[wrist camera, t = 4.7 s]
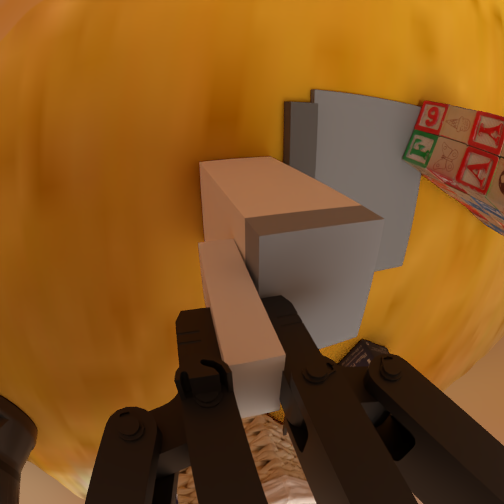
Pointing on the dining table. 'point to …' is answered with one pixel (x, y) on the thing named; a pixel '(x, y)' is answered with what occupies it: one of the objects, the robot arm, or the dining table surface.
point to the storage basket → (264, 465)
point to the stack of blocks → (462, 157)
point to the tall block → (295, 240)
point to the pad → (359, 157)
